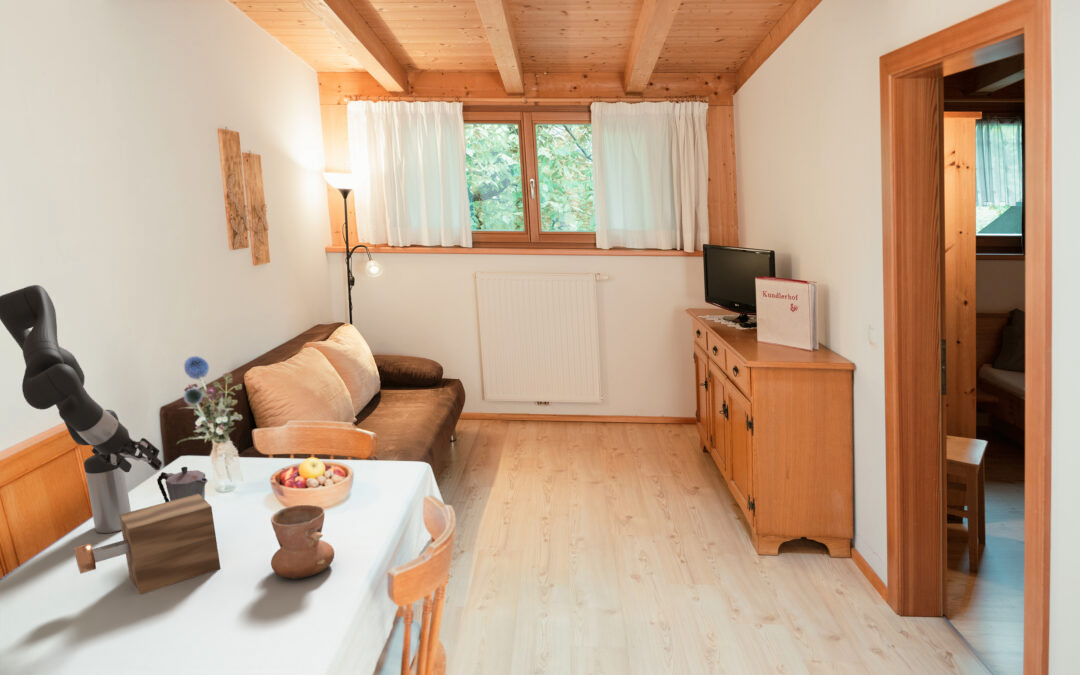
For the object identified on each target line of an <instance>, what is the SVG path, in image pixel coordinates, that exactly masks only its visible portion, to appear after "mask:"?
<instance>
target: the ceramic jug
mask: <svg viewBox="0 0 1080 675" xmlns="http://www.w3.org/2000/svg"><path fill="white" fill-rule="evenodd" d="M270 522H271V525H272V529H273V531H274V533H275V538H276V541H277V542H278V545H279V547H280V548H279V549H278V550H277V551H276V552H275V553H274V554H273V555H272V557H271V560H270V566H271V569H272V570H273V572H274V573H275V574H276V575H278V576H280V577H283V578H287V579H304V578H307V577H312V576H315V575H317V574H320V573H321V572H323V571H324V570H326V569H327V568H329V567H330V565H331V564H332V562H333V561H334V558H335V550H334V548H333V546H332V545H331V544H330V543H328V542H326V541H324V540H322V539H321V538H322V537H323V536H324V535H323V533H322V531H323V527H324V522H325V509H324V508H323V507H322V506H319V505H312V504H300V505H292V506H289V507H288V506H287V507H284V508H282V509H279V510H278V511H276V512H274V513H273V514H272V516H271V517H270Z"/></svg>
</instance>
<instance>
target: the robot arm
mask: <svg viewBox="0 0 1080 675" xmlns="http://www.w3.org/2000/svg"><path fill="white" fill-rule="evenodd" d="M0 321H1V323H2V324H3V326H4V327H5V329H6V330H7V331H8V333H9V334H10V335H11V337H12V338H13V340H14V341H15V343H16V344H17V345H18V346H19V347H20V348H19V349H21V351H22V355H23V356H22V357H23V360H24V364H25V370H24V375H23V379H22V384H21V386H22V387H21V389H22V395H23V397H24V400H25V401H26V403H27V404H28V405H29V406H30V407H32V408H34V409H37V410H47V409H49V408H52V407H53V406H56V408H57V410H58V415H59V418H61V419H62V420H63V422H64V424H65V427H66V428H67V431H68V433H69V435H70V437H71V438H72V440H73V441H74V442H75V443H76V444H77V445H81V446H91V447H92V449H91V453H92V454H94V455H92V456H89V457H88V458H87V459H85V460H84V461H83V462H84V463H83V468H84V473H85V479H86V484H87V489H88V495H89V501H90V506H91V507H90V508H91V512H92V516H93V517H92V518H93V524H94V530H95V532H96V533H99V534H109V533H115V532H119V531H122V529H121V523H120V517H119V515H120V514H124V513H128V512H132V511H131V510H132V509H131V504H130V498H129V492H128V485H127V480H126V473H129V472H131V469H132V464H131V462H129V461H128V459H126V458H129V459H132V460H134V461H138V462H139V461H140V460H141V461H143V462H145V463H146V464H148V465H149V466H150V467H151V468H153V469H154V471H160V469H161V467H162V465H163V461H162V460H161V459H159V458H158V457H159V456H158V455H159V454H160V450H159V449H158V448H157V447H156V446H154V445H153V443H151V442H150V441H149V440H148V439H146V438H144V437H142V438H140V441H136V440H134V439H133V438H132V437H131V436H130V433H129V430H128V428H126V427H125V426H124V425H123V423H121V422H120V421H119V417H118V415H117V413H116V412H115V411H114V410H112V409H104V408H103V406H101V405H99V404H98V402H96V401H95V400H94V399H93V398H92V397H91V396H90V395H89V393H88V392H87V390H86V389H85V387H84V385H85V381H86V380H85V374H84V371H83V370H82V367H81V366H80V364H79V362H78V361H77V358H76V357H75V355H74V354H73V353H72V352H70V351H68V350H67V349H65V348H63V347H62V346H59V342H58V325H57V324H58V323H57V313H56V308H55V306H54V302H53V300H52V299H51V296H50V295H49V293H48V291H47V290H46V289H45V288H44V287H43V286H41V285H38V284H33V285H29V286H28V285H27V286H25V287H23V288H20V289H17V290H14V291H10V292H8V293H7V292H6V293H5V294H2V295H0ZM31 328H32V329H31ZM30 329H31V330H30ZM137 451H138V452H139V453H138V455H136V453H137Z"/></svg>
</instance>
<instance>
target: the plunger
mask: <svg viewBox="0 0 1080 675" xmlns="http://www.w3.org/2000/svg"><path fill="white" fill-rule="evenodd" d="M74 553H75V559H76V563H77V564H76V565H77V568H78V571H79V574H80V575H81V574H84V573H85V574H86V573H88V572H92V571H94V570H96V569H97V566H96V563H99V562H102V561H106V560H108V559H113V558H116V557H120V556H123V555H126V554H127V553H130V549H129V543H128V541H127V539H126V540H123V539H122V540H120V541H116V542H113V543H110V544H106V545H102V546H99V547H95V548H92V544H91V543H90V542H89V543H86V544H85V543H84V544H82V545H78V546H75V547H74Z"/></svg>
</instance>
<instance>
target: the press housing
mask: <svg viewBox="0 0 1080 675" xmlns="http://www.w3.org/2000/svg"><path fill="white" fill-rule="evenodd" d="M212 507H213V506H212V505H211V504H210V503H209V502H208V501H207V500H206V499H204V498H203V497H202V496H201V495H200V494H195V495H192V496H188V497H184V498H180V499H177V500H173V501H170V500H169V502H163V503H159V504H154V505H151V506H148V507H142V508H140V509H136V510H132V511H131V512H128V513H124V514H120V515H119V517H120V523H121V529H122V530H121V534H122V541H123V540H126V539H127V541H128V543H129V549H130V553H127V554H125V557H126V562H127V563H126V564H127V568H128V575H129V579H130V580H131V582H132V584H133V586H134V587H135V588H136V590H137V592H138V594H139V595H142V594H146V593H148V592H152V591H155V590H157V589H161V587H162V588H165V587H168V586H171V585H173V584H177V583H179V581H180V582H183V581H186V580H189V579H191V578H195V576H196V577H198V575H199V576H202V575H205V574H208V573H211V572H214V571H216V570H220V569H221V563H220V556H219V549H218V542H217V537H216V536H217V535H216V529H215V527H216V526H215V522H214V521H215V520H214V515H213V509H212ZM201 574H202V575H201ZM182 580H183V581H182ZM176 582H177V583H176Z"/></svg>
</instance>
